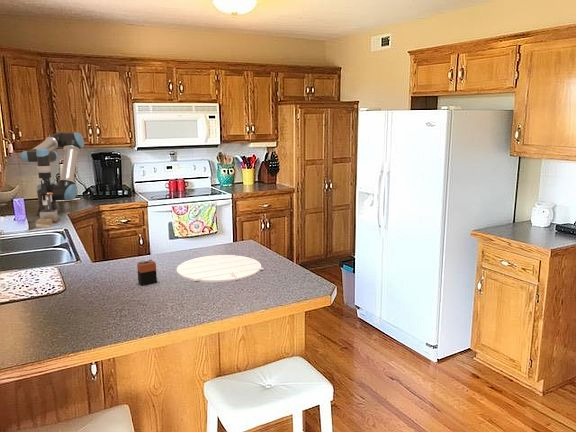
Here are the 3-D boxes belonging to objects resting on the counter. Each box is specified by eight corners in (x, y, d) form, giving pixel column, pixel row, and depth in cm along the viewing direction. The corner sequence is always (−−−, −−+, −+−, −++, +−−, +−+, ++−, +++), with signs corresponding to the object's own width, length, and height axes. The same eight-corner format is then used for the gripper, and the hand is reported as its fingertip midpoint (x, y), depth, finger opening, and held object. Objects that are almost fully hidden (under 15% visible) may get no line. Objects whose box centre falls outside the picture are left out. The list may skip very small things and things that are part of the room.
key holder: (39, 225, 314) (38, 219, 313) (52, 224, 316) (51, 218, 315) (36, 227, 306) (35, 221, 306) (49, 227, 308) (49, 221, 307)
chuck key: (43, 215, 325) (41, 192, 322) (55, 215, 327) (53, 192, 323) (42, 216, 321) (39, 193, 318) (54, 216, 323) (52, 192, 320)
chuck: (42, 220, 329) (41, 209, 327) (60, 219, 332) (59, 209, 330) (37, 224, 317) (36, 213, 316) (57, 223, 320) (56, 212, 319)
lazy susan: (276, 274, 215) (276, 267, 214) (193, 289, 196) (193, 281, 195) (240, 253, 249) (240, 247, 248) (166, 264, 230) (166, 257, 229)
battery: (138, 283, 202) (136, 260, 200) (153, 280, 206) (152, 257, 204) (141, 286, 199) (140, 263, 197) (157, 282, 202) (156, 260, 200)
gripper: (43, 170, 329) (46, 200, 333) (33, 174, 305) (36, 206, 309) (54, 170, 331) (57, 200, 335) (46, 173, 307) (49, 206, 311)
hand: (47, 203), depth 322 cm, fingers open, 13 cm apart
